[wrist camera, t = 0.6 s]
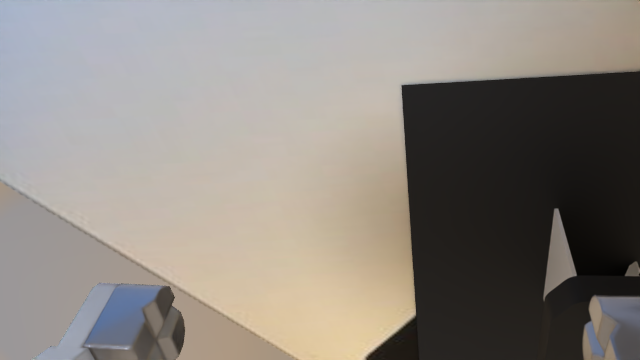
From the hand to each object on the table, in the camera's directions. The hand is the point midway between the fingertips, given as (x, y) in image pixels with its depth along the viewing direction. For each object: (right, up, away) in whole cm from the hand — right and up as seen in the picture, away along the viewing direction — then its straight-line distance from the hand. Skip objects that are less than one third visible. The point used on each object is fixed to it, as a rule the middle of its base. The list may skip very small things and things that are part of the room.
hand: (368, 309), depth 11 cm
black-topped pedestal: (+19, -2, +29) cm, 35 cm away
